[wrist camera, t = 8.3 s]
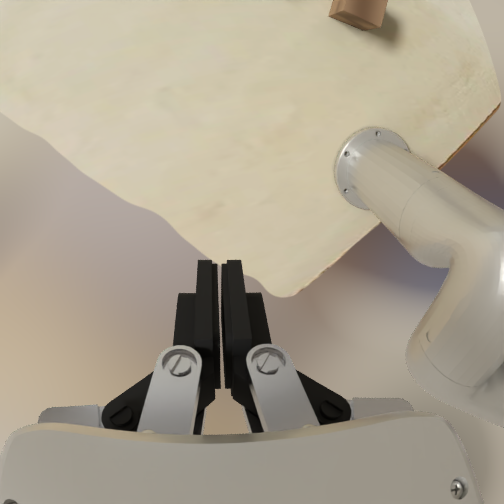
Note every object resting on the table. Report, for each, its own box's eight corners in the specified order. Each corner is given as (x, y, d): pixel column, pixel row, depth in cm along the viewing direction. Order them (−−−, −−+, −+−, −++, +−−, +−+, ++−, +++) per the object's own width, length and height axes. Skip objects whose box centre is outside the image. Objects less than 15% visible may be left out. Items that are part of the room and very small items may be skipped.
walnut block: (370, 1, 27) (388, -4, 23) (362, 30, 29) (380, 27, 25) (336, -13, 26) (352, -22, 21) (328, 16, 28) (343, 10, 24)
